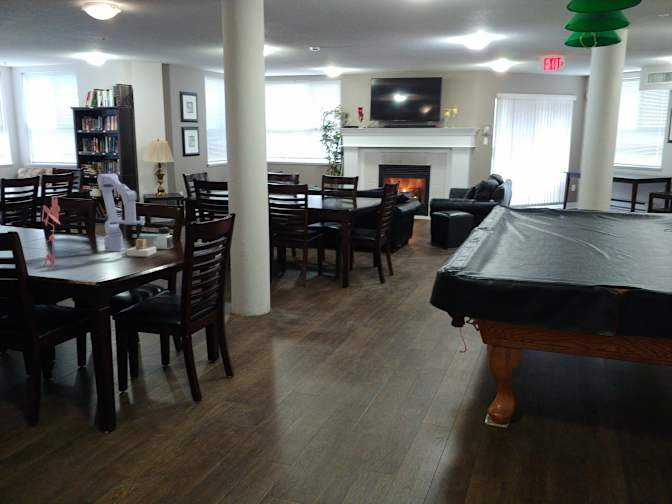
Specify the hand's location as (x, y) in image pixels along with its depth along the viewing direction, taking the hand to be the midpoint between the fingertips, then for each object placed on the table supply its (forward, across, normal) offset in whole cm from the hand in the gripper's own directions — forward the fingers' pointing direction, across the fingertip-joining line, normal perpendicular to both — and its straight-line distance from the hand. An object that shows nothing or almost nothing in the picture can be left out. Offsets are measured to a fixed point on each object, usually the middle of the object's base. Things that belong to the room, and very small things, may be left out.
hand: (131, 237), depth 322 cm
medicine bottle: (+10, +10, +23) cm, 27 cm away
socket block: (+10, +4, +2) cm, 11 cm away
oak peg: (+9, +4, +2) cm, 10 cm away
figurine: (+10, -23, -32) cm, 41 cm away
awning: (+10, +4, +12) cm, 16 cm away
